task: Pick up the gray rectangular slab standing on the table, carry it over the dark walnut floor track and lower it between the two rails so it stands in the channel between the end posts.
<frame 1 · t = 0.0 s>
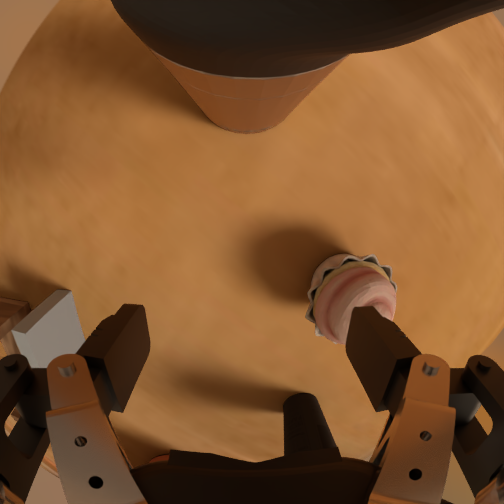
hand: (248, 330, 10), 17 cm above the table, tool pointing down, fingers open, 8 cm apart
drinking cup: (299, 403, 35), on the table
cupcake: (337, 280, 29), on the table
track: (31, 351, 31), on the table
gray rectangular slab: (75, 331, 30), on the table
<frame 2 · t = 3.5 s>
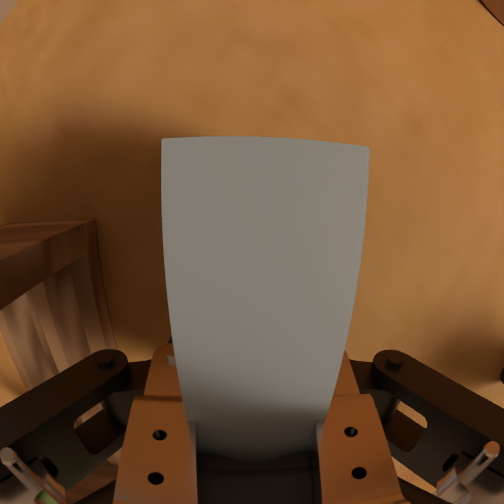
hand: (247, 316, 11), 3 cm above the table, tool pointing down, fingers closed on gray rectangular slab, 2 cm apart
track: (73, 357, 15), on the table
gray rectangular slab: (247, 286, 14), on the table, touching gripper
when the fingers open (6 cm above the table, at t = 8.3 s): gray rectangular slab stays where it is, resting on track.
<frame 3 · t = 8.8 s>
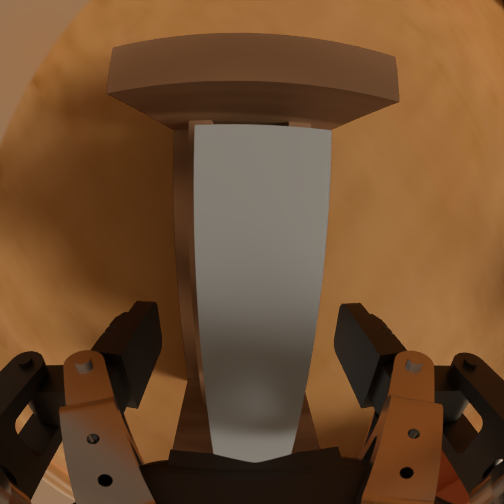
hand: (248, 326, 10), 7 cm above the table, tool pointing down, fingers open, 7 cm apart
track: (246, 267, 17), on the table
gray rectangular slab: (248, 266, 16), point 1 cm above the table, touching track
potted cactus: (413, 455, 26), on the table
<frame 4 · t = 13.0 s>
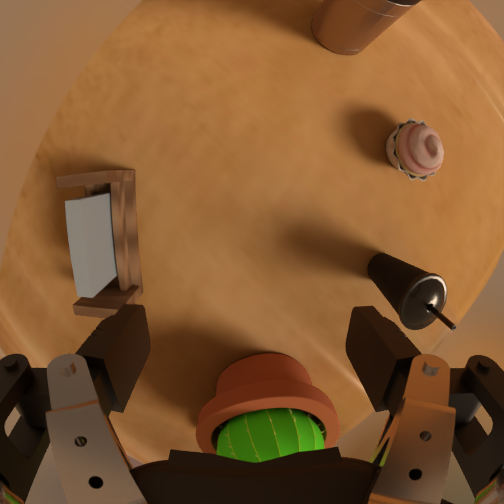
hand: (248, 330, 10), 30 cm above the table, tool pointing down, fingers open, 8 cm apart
drinking cup: (379, 267, 42), on the table
cupcake: (400, 150, 37), on the table
track: (114, 233, 39), on the table
gray rectangular slab: (111, 232, 38), point 1 cm above the table, touching track
potted cactus: (264, 386, 48), on the table
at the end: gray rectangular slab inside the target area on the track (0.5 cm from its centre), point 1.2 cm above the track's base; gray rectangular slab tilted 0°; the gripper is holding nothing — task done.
